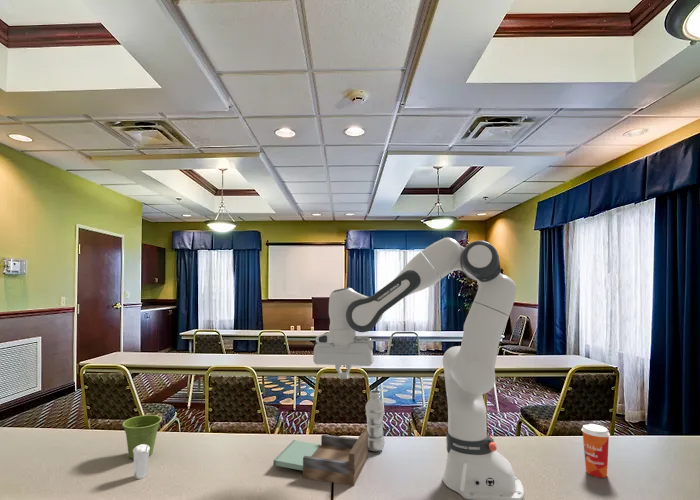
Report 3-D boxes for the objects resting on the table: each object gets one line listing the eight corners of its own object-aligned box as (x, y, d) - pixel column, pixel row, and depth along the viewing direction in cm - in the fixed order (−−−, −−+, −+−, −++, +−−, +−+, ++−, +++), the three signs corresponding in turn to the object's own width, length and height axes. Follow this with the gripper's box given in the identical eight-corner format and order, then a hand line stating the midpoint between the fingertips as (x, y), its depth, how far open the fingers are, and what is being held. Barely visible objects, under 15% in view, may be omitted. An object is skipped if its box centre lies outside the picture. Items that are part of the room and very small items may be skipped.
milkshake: (139, 482, 119) (140, 447, 120) (128, 477, 122) (130, 443, 122) (153, 476, 123) (154, 442, 123) (143, 471, 126) (144, 438, 126)
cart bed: (367, 458, 136) (367, 430, 136) (354, 485, 118) (354, 454, 119) (322, 452, 140) (322, 425, 140) (302, 477, 122) (303, 447, 123)
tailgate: (320, 444, 139) (293, 440, 142) (303, 465, 124) (273, 460, 126) (320, 449, 139) (293, 444, 141) (303, 470, 124) (273, 464, 126)
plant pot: (126, 466, 128) (127, 430, 129) (117, 454, 137) (118, 420, 138) (165, 455, 136) (166, 421, 137) (154, 444, 145) (155, 412, 146)
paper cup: (576, 470, 129) (575, 425, 129) (593, 465, 132) (592, 421, 132) (600, 482, 121) (599, 434, 122) (617, 477, 124) (616, 430, 125)
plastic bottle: (383, 454, 138) (383, 395, 139) (363, 452, 140) (364, 393, 141) (385, 446, 145) (385, 389, 146) (366, 445, 146) (367, 388, 147)
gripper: (374, 335, 136) (376, 376, 136) (317, 334, 142) (318, 374, 141) (371, 338, 130) (372, 382, 130) (311, 337, 135) (312, 379, 135)
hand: (343, 378), depth 135 cm, fingers closed
